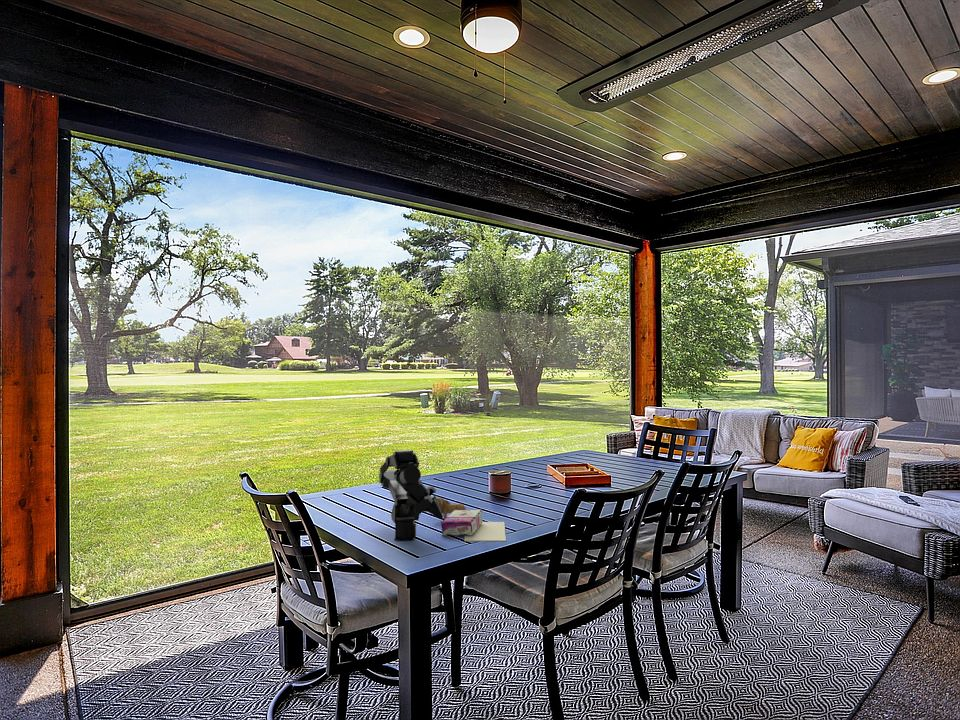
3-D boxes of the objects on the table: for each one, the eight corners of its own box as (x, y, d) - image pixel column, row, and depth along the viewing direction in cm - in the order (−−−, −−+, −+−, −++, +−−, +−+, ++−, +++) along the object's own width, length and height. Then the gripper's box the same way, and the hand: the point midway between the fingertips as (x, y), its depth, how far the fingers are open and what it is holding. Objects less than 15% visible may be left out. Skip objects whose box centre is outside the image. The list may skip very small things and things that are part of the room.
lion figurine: (432, 522, 214) (432, 499, 214) (434, 518, 219) (433, 495, 219) (471, 523, 213) (471, 499, 213) (472, 519, 219) (472, 495, 219)
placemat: (464, 541, 192) (464, 540, 192) (467, 522, 214) (467, 521, 214) (505, 541, 192) (505, 540, 192) (504, 522, 214) (504, 521, 214)
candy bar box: (472, 536, 196) (483, 522, 211) (471, 522, 196) (482, 509, 211) (441, 536, 198) (454, 522, 214) (440, 522, 198) (453, 509, 214)
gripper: (398, 493, 204) (427, 526, 204) (389, 507, 185) (421, 543, 185) (420, 472, 204) (450, 505, 204) (414, 484, 185) (446, 520, 185)
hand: (442, 518), depth 194 cm, fingers closed
